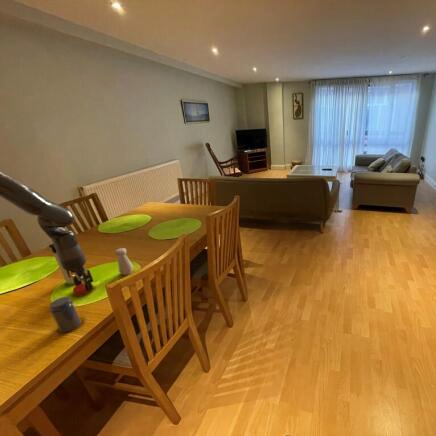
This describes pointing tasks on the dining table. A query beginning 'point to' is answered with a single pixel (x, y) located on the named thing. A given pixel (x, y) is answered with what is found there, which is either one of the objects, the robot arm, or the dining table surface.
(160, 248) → the dining table surface
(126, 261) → the salt shaker
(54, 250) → the travel mug
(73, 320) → the jar
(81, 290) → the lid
